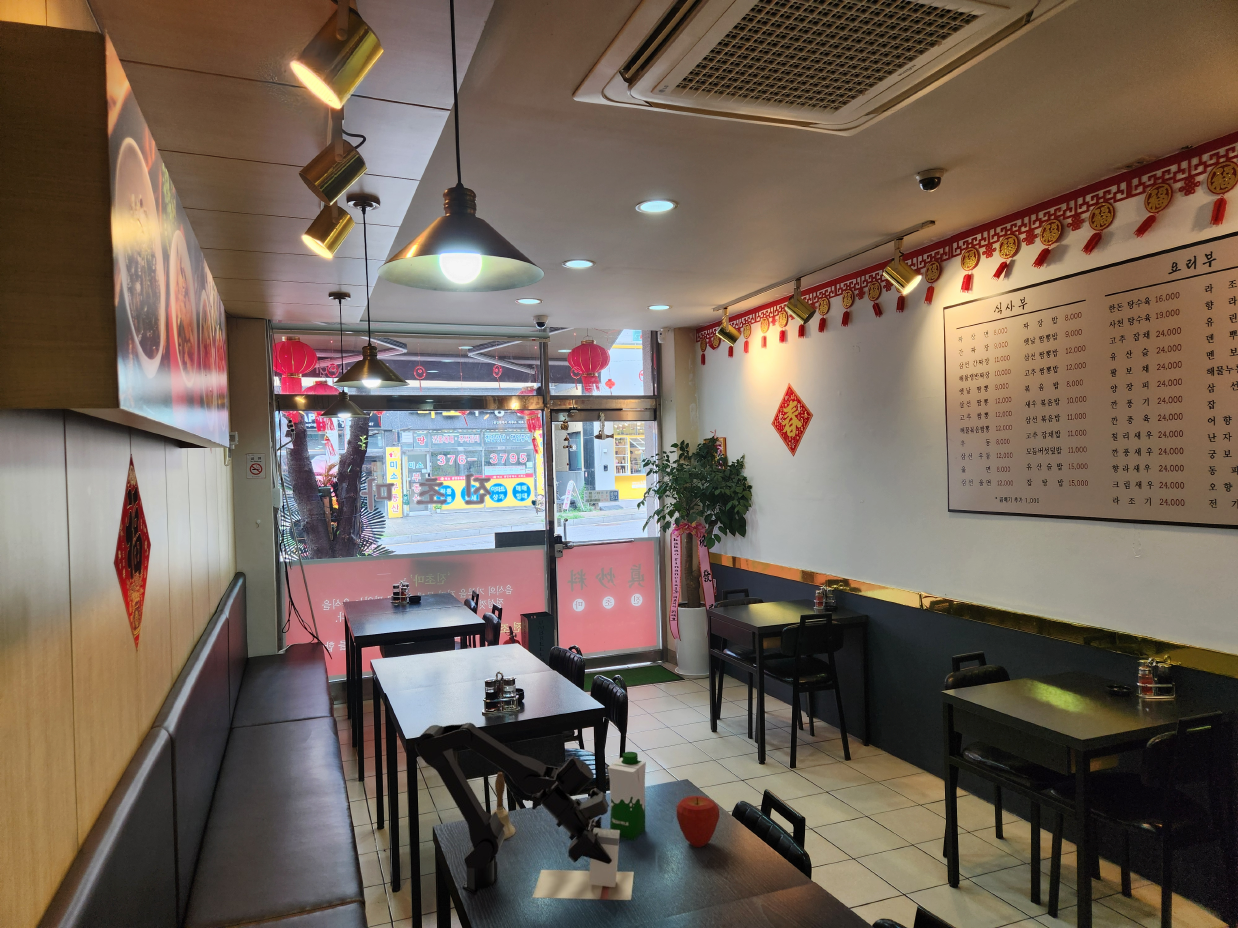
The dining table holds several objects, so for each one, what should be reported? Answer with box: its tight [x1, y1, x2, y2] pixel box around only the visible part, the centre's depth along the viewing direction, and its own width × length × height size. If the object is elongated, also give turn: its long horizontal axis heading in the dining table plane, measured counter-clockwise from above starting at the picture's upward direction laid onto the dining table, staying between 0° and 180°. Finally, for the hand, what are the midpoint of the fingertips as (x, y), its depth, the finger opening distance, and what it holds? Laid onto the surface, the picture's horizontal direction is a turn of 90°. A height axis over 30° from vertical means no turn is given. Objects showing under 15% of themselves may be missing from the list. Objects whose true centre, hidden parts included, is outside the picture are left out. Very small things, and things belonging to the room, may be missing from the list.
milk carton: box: [607, 751, 647, 842], centre depth 205 cm, size 9×9×20 cm
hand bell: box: [490, 771, 517, 840], centre depth 206 cm, size 8×8×16 cm
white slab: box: [589, 827, 620, 887], centre depth 177 cm, size 6×4×11 cm
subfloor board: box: [532, 869, 635, 901], centre depth 177 cm, size 22×12×1 cm, turn 86°
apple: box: [676, 795, 720, 848], centre depth 198 cm, size 11×11×12 cm
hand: (611, 857), depth 177 cm, fingers closed on white slab, 4 cm apart
